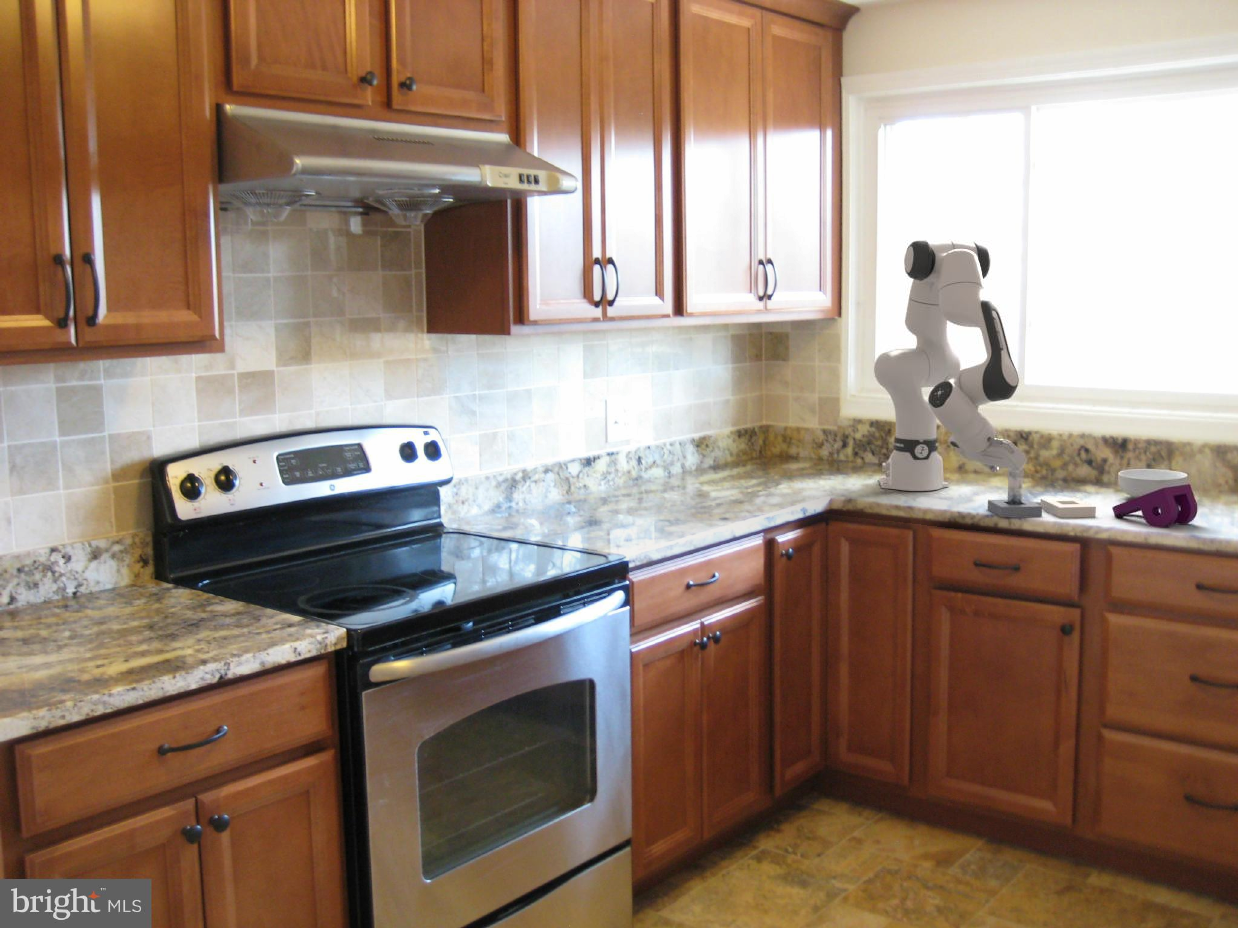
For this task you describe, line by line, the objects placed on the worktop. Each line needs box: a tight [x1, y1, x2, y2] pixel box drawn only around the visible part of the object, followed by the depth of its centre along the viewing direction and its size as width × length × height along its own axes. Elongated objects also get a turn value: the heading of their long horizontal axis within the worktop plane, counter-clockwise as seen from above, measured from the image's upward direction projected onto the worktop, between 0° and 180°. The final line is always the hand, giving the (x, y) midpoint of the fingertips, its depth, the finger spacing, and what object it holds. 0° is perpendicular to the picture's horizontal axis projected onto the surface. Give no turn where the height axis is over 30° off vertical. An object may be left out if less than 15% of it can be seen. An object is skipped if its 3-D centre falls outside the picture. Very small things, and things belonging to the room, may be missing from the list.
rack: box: [1039, 497, 1097, 519], centre depth 300 cm, size 12×9×2 cm
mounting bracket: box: [1111, 483, 1198, 528], centre depth 288 cm, size 9×8×18 cm
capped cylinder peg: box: [1007, 466, 1024, 505], centre depth 300 cm, size 3×3×15 cm
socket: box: [987, 498, 1043, 518], centre depth 301 cm, size 10×10×2 cm
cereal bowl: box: [1117, 468, 1189, 499], centre depth 315 cm, size 17×17×7 cm
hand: (1008, 473), depth 298 cm, fingers open, 8 cm apart
